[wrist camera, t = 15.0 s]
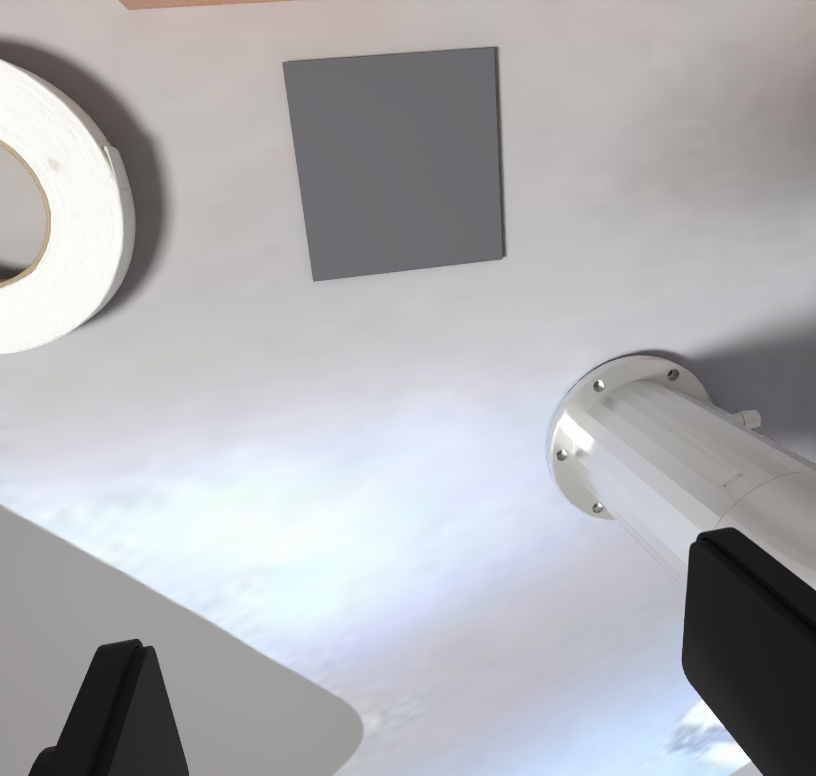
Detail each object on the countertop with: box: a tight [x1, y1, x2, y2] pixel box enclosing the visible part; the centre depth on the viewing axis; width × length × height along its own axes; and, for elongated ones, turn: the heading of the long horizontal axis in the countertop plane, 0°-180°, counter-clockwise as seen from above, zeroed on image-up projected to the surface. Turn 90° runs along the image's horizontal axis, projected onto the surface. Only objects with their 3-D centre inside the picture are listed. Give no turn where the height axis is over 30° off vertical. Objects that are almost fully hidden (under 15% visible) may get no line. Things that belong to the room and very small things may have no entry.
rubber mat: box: [283, 47, 503, 282], centre depth 37 cm, size 12×12×1 cm
